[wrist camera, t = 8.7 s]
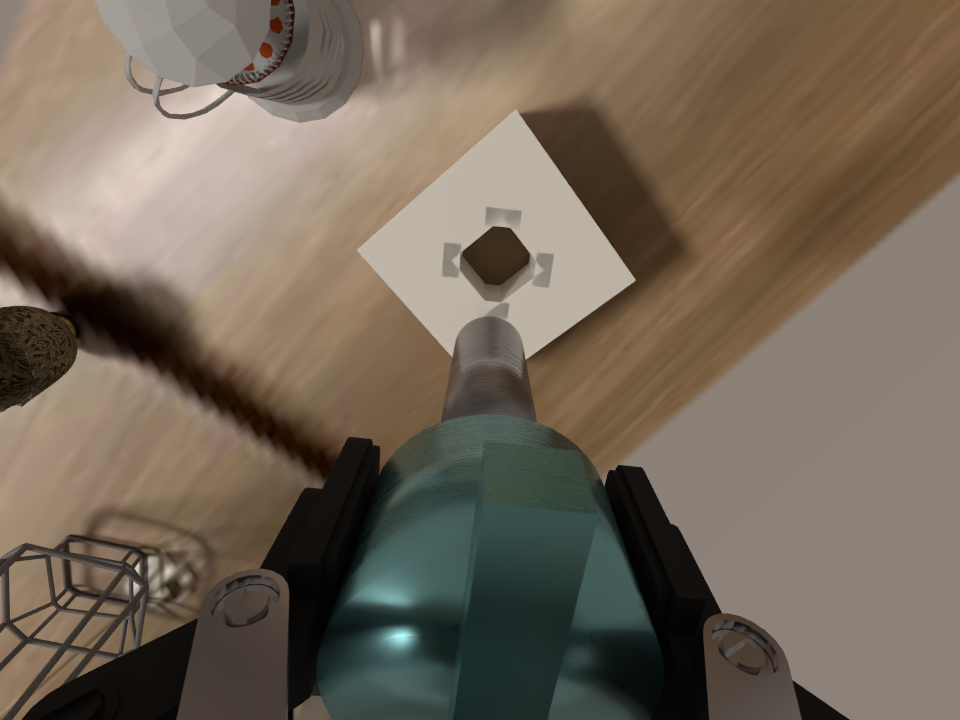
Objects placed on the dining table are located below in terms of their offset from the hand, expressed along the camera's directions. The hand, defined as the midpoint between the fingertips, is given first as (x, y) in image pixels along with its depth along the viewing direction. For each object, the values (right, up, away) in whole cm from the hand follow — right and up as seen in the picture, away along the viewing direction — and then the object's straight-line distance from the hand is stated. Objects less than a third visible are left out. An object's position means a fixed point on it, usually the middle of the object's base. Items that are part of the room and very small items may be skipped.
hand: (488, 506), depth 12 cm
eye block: (+1, +12, +28) cm, 30 cm away
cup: (-36, +6, +31) cm, 48 cm away
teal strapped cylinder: (0, +4, +10) cm, 10 cm away
